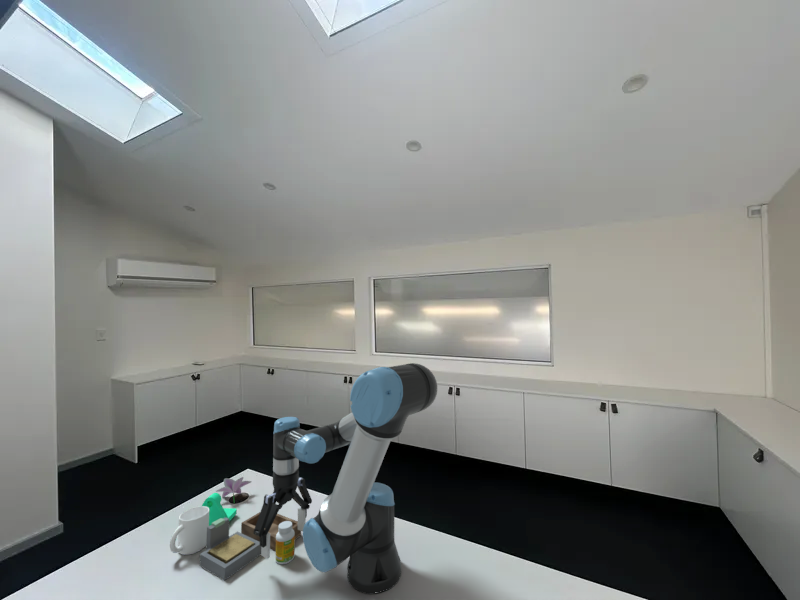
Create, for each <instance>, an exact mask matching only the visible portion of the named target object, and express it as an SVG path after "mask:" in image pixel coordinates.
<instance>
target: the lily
mask: <svg viewBox="0 0 800 600" xmlns="http://www.w3.org/2000/svg"><path fill="white" fill-rule="evenodd" d="M251 483H252V481H250V480H244V477H243V476H241V477H239V478H238V479H236V480H234V479H233V478H227V477H226V478H224V479H223V485H224V486H223V487H221V488H219V489H217V490H215V493H222V495H221V498H225V497H226V496H229V495H230V494H232V495H233V497H232V498H233V504H235V494H239V495H241V494H242V488H243V487H245V486H246V485H248V484H251Z"/></svg>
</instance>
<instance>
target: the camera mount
mask: <svg viewBox="0 0 800 600" xmlns="http://www.w3.org/2000/svg"><path fill="white" fill-rule="evenodd" d="M201 506H206V507H208V508H209V526H210V525H212V523H213V522H214V521H216V520H218V519H220V518H222V519H223V518H225V517H226V518H228V519H229V522H230V521H232V520H233V518H234V517H235V516H236V515H237V513H238V512H237V508H233V507H232V508H230V507H228V508H227V507H223V504H222V495H221V494H220V493H219V492H213V493H212V494H210V495H209V496H207V497H206V498H205V499H204V501H203V502H202V504H201Z"/></svg>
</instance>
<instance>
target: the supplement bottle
mask: <svg viewBox="0 0 800 600" xmlns="http://www.w3.org/2000/svg"><path fill="white" fill-rule="evenodd" d="M278 531H279V532H278V533H277V534H276V551H275V562H276V564H278V565H286V564H288V563H291V562H292V561H293V559H294V558H295V544H296V543H295V541H296V540H295V532H294V530H293V529H292V522H291V521H284V522H282V523H280V524H279V526H278Z"/></svg>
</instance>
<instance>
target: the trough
mask: <svg viewBox="0 0 800 600" xmlns="http://www.w3.org/2000/svg"><path fill="white" fill-rule="evenodd" d="M260 512H261V511H259V512H258V513H256V514H254V515H253V516H251V517H249V518H247V519H245V520H244V521H242V522H241V524H240V525H241V528H240V529H241V530H240V533H242V534H244V535H246V536H248V537H250V538H253V539H255V540H257V541H259V542H260V537H259V536H257V535H255V534H253V532H254V529H255V526H256V523H257V520H258V518H259V515H260ZM284 521H291V522H292V529H293V530H294V532H295V541H296V540H297V539H298V538H300V537H301V536H302V531H300V530H298V520H296V519H292V518H290V517H287V516H285V515H283V514H280V513H277V515H276V517H275V519H274V521H273V523H272V525H271V528H270V530H269V533H270V551H273V552H276V534H277V533H278V532H279V531H278V526H279V524H280V523H282V522H284ZM264 529H265V528H264Z"/></svg>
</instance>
